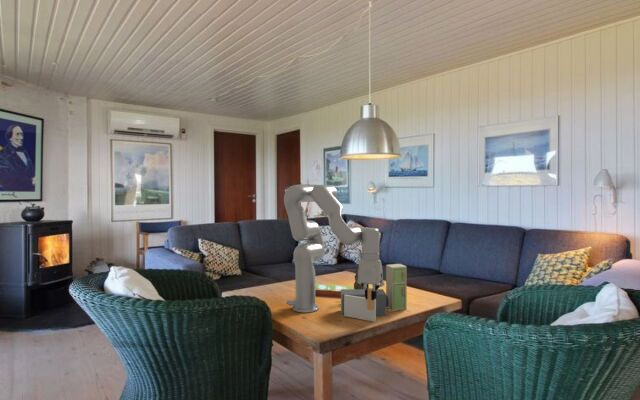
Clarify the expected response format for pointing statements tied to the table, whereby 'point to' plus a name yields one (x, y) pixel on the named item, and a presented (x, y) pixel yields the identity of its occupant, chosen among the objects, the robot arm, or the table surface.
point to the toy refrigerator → (396, 286)
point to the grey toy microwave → (380, 298)
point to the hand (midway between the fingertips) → (370, 298)
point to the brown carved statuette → (356, 285)
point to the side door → (360, 307)
